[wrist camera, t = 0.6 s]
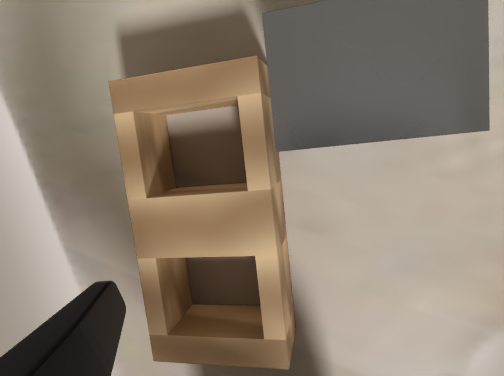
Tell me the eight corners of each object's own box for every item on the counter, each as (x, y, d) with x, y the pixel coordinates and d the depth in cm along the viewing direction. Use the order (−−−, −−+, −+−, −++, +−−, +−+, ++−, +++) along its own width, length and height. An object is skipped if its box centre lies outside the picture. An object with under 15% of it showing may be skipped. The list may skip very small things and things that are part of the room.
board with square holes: (296, 331, 24) (288, 369, 20) (180, 327, 26) (153, 361, 22) (270, 69, 21) (256, 55, 17) (145, 89, 23) (108, 81, 20)
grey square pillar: (391, 132, 20) (489, 130, 8) (308, 141, 21) (275, 151, 9) (388, 65, 20) (487, -53, 7) (303, 78, 21) (260, -3, 8)
